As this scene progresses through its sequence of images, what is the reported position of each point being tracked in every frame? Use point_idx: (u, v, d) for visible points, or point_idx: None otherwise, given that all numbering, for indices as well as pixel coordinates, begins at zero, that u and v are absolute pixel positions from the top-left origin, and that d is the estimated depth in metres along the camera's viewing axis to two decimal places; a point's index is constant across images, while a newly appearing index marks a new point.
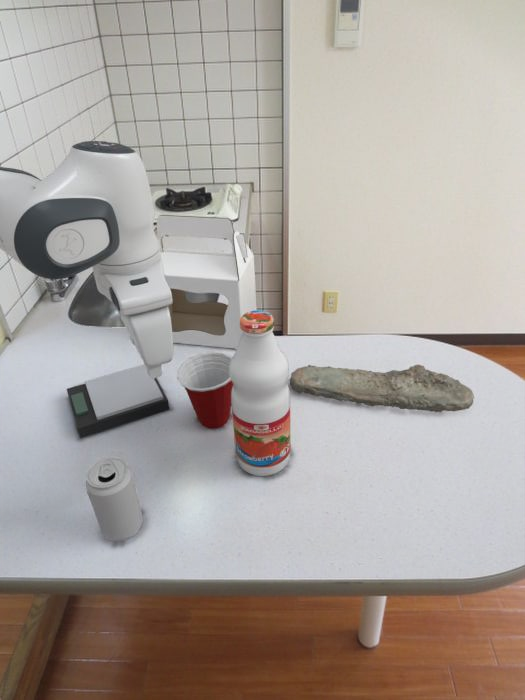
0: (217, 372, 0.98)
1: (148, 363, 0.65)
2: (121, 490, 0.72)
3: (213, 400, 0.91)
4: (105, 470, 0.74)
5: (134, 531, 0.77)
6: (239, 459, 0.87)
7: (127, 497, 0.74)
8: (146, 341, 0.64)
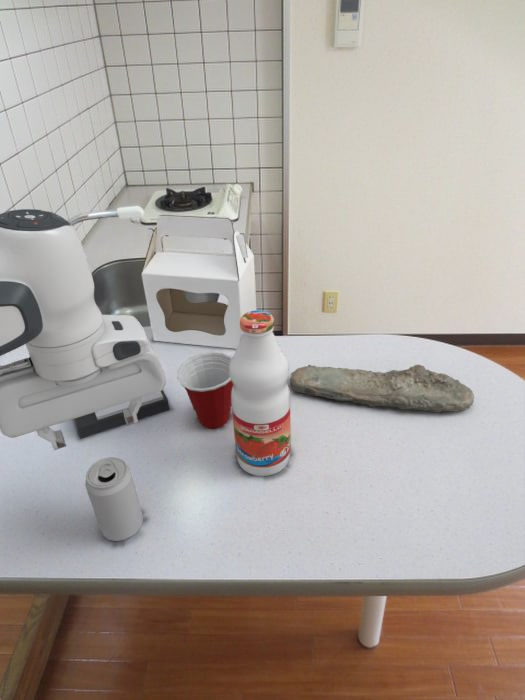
0: (217, 372, 0.98)
1: None
2: (120, 490, 0.72)
3: (213, 400, 0.91)
4: (105, 470, 0.74)
5: (134, 531, 0.77)
6: (239, 459, 0.87)
7: (127, 497, 0.74)
8: None
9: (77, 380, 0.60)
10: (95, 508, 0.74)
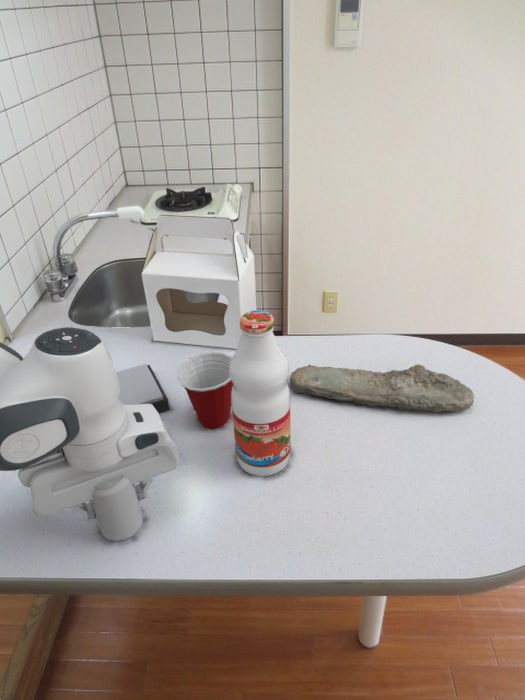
0: (217, 372, 0.98)
1: None
2: (120, 490, 0.72)
3: (213, 400, 0.91)
4: None
5: (134, 531, 0.78)
6: (239, 459, 0.87)
7: (127, 497, 0.74)
8: None
9: (103, 468, 0.69)
10: (95, 508, 0.74)
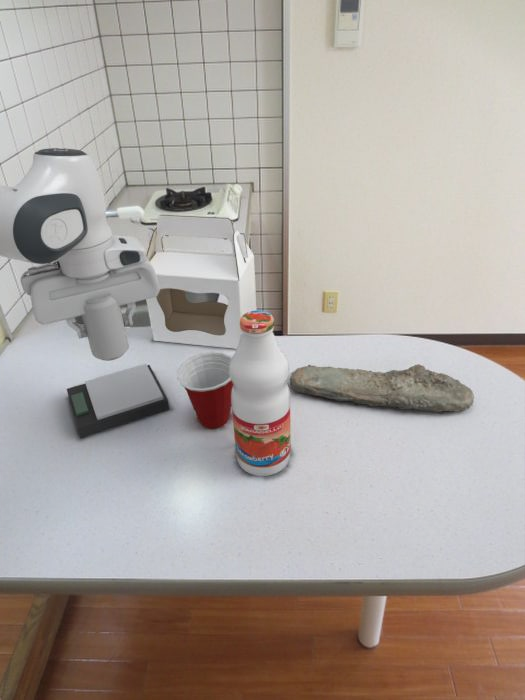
0: (217, 372, 0.98)
1: (159, 289, 0.89)
2: (108, 306, 0.84)
3: (213, 400, 0.91)
4: None
5: (121, 352, 0.90)
6: (239, 459, 0.87)
7: (114, 315, 0.86)
8: None
9: (92, 279, 0.81)
10: (86, 325, 0.86)
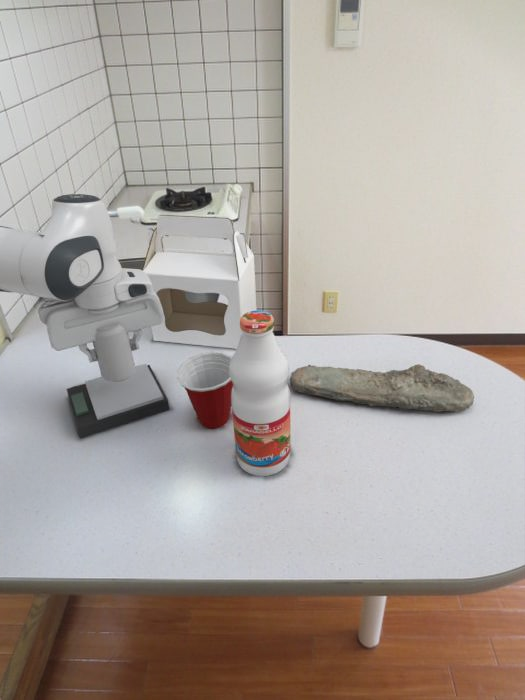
0: (217, 372, 0.98)
1: None
2: (117, 333, 0.92)
3: (213, 400, 0.91)
4: None
5: (128, 374, 0.98)
6: (239, 459, 0.87)
7: (122, 341, 0.94)
8: None
9: (103, 310, 0.89)
10: (97, 350, 0.94)
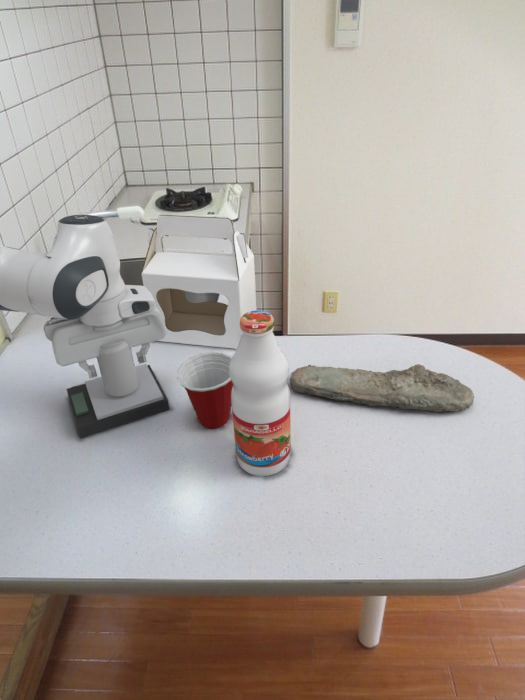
0: (217, 372, 0.98)
1: (166, 332, 0.99)
2: (121, 350, 0.94)
3: (213, 400, 0.91)
4: None
5: (131, 389, 1.00)
6: (239, 459, 0.87)
7: (126, 358, 0.96)
8: None
9: (107, 326, 0.91)
10: (101, 366, 0.96)
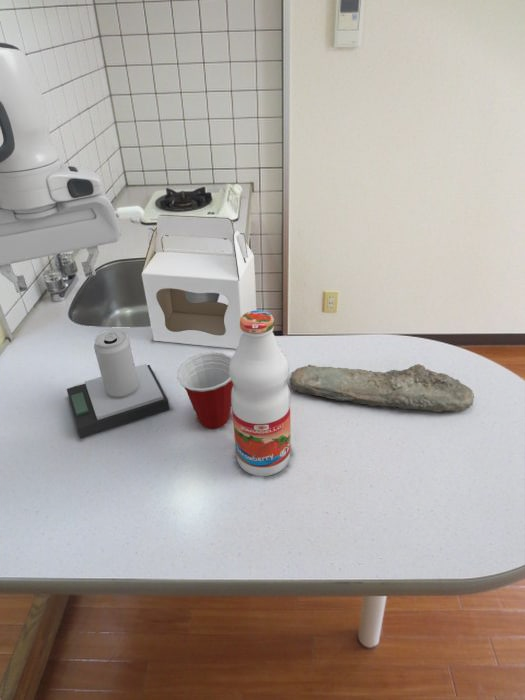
0: (217, 372, 0.98)
1: (120, 233, 0.74)
2: (121, 350, 0.94)
3: (213, 400, 0.91)
4: (109, 337, 0.96)
5: (131, 389, 1.00)
6: (239, 459, 0.87)
7: (126, 358, 0.96)
8: None
9: (34, 213, 0.66)
10: (101, 366, 0.96)
